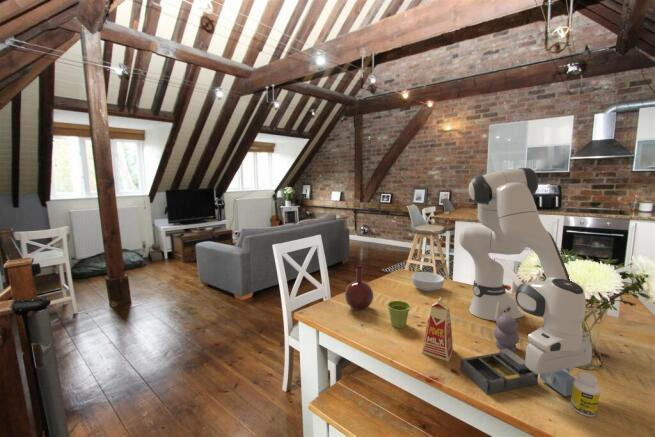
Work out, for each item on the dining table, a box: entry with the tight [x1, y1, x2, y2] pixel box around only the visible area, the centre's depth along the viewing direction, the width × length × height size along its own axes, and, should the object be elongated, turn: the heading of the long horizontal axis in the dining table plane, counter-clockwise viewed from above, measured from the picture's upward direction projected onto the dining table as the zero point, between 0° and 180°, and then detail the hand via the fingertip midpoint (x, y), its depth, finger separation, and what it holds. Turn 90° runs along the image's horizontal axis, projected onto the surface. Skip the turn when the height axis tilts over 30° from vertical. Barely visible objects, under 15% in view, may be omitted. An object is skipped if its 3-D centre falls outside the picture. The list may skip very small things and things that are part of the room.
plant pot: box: [387, 300, 412, 329], centre depth 129 cm, size 9×9×9 cm
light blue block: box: [539, 370, 577, 397], centre depth 90 cm, size 3×8×5 cm, turn 13°
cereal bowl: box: [411, 271, 445, 292], centre depth 168 cm, size 17×17×7 cm
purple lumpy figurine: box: [493, 312, 520, 353], centre depth 111 cm, size 8×8×12 cm
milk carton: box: [421, 296, 454, 362], centre depth 109 cm, size 9×9×20 cm
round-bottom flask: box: [344, 266, 374, 311], centre depth 144 cm, size 13×13×20 cm
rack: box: [459, 349, 539, 395], centre depth 96 cm, size 12×18×6 cm
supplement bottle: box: [570, 371, 601, 418], centre depth 82 cm, size 5×5×10 cm
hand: (556, 380), depth 90 cm, fingers closed on light blue block, 3 cm apart
